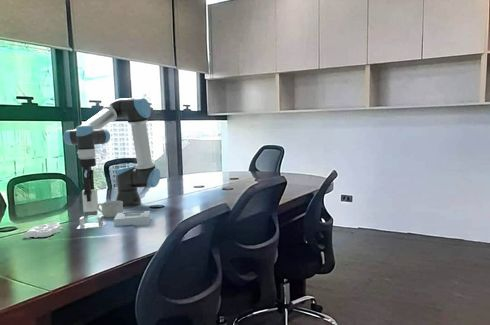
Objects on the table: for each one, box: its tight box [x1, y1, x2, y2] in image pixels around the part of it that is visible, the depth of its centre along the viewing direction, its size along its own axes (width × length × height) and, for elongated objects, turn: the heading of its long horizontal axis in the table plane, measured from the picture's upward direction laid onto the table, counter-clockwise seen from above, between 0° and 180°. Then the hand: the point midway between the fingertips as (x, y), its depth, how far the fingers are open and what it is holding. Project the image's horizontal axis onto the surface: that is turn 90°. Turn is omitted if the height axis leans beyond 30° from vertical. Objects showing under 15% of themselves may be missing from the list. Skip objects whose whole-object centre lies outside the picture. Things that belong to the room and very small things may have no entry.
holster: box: [76, 214, 107, 230], centre depth 190 cm, size 10×12×5 cm
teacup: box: [97, 200, 124, 219], centre depth 209 cm, size 14×11×8 cm
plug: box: [81, 188, 99, 217], centre depth 189 cm, size 4×6×12 cm, turn 101°
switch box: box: [113, 210, 151, 227], centre depth 195 cm, size 14×16×4 cm
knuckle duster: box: [22, 222, 64, 239], centre depth 180 cm, size 3×18×15 cm
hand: (90, 206), depth 189 cm, fingers closed on plug, 4 cm apart
